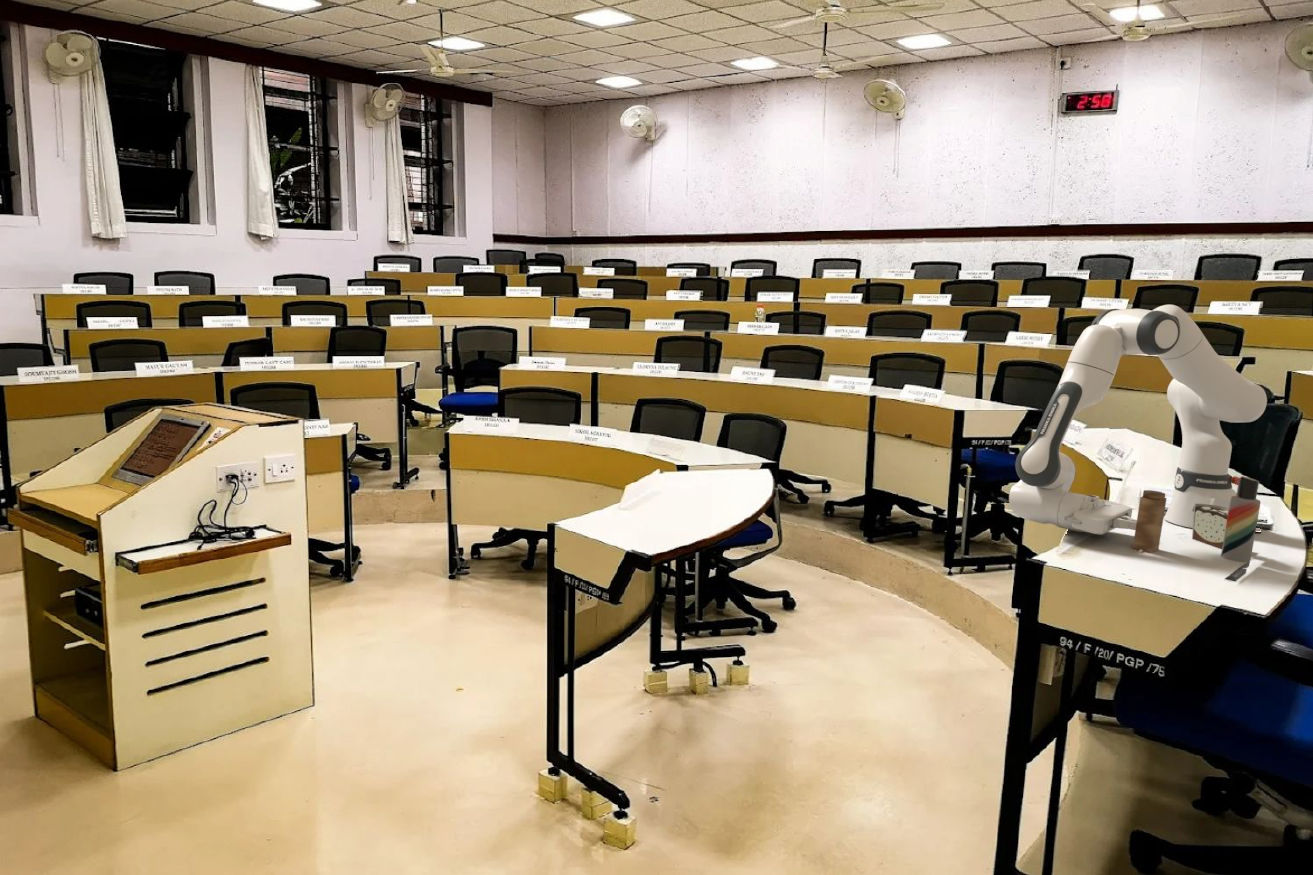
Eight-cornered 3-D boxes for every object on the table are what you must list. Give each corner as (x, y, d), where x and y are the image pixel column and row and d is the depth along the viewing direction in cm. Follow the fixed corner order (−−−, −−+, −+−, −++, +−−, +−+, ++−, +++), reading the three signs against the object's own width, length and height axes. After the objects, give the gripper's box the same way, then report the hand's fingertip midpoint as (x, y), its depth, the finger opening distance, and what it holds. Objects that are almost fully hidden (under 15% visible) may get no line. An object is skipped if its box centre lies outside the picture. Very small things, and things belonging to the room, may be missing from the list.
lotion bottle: (1216, 558, 215) (1231, 473, 212) (1244, 562, 214) (1260, 476, 210) (1223, 565, 210) (1238, 478, 206) (1252, 569, 208) (1268, 481, 205)
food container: (1251, 557, 218) (1258, 516, 216) (1230, 558, 216) (1237, 516, 214) (1206, 542, 229) (1213, 502, 227) (1186, 543, 227) (1193, 502, 226)
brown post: (1129, 549, 213) (1137, 492, 211) (1141, 543, 219) (1149, 488, 217) (1150, 554, 210) (1159, 497, 208) (1161, 548, 216) (1170, 492, 214)
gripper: (1062, 505, 216) (1125, 519, 207) (1094, 493, 231) (1155, 505, 222) (1058, 532, 218) (1121, 546, 208) (1091, 518, 232) (1151, 531, 223)
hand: (1139, 525), depth 215 cm, fingers closed, pressing on brown post
